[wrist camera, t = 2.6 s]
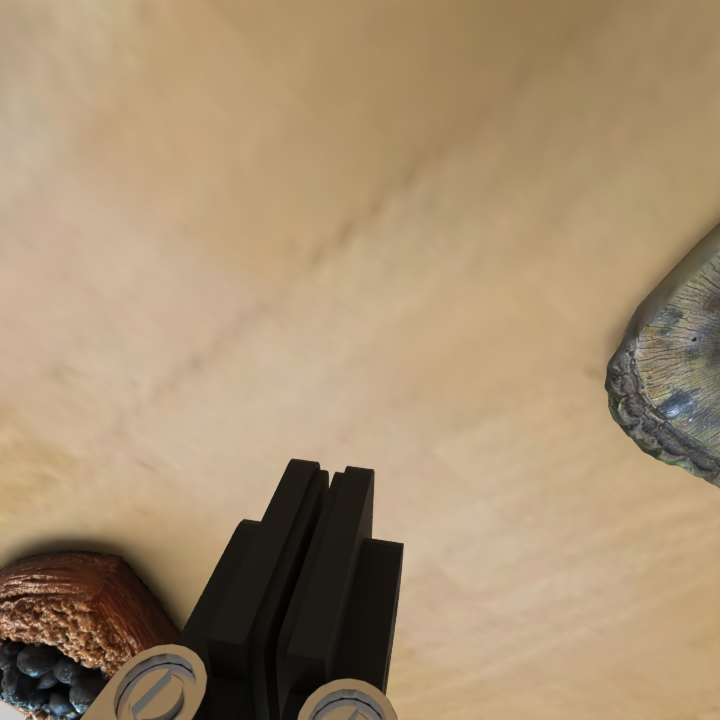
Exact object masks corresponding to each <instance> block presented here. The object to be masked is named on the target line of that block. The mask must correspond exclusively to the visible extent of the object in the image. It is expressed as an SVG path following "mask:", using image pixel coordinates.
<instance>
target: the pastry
mask: <svg viewBox="0 0 720 720" xmlns="http://www.w3.org/2000/svg"><path fill="white" fill-rule="evenodd" d="M162 605H163V603H162V602H161V601H160V599H158V598H156V597H155V596H153V595H152V594H151V592H150V591H149V589H148V587H147V586H146V585H145V584H144V583H143V581H142V580H141V579H140V578H139V577H138V576H137V575H136V574H135V572H134V570H133V569H132V568H131V567H130V566H129V565H128V564H127V563H126V562H125V561H123V559H122V557H121V556H116V555H111V554H110V555H106V554H101V553H95V552H83V551H81V552H72V551H61V552H53V553H46V554H40V555H36V556H33V557H28V558H26V559H24V560H21V561H19V562H16V563H14V564H12V565H10V566H7V567H5V568H3V569H1V570H0V700H3V701H5V702H6V703H10V704H12V705H13V706H18V708H19V710H21V711H23V712H25V715H24V716H25V718H26V720H71V719H73V718H75V717H77V716H78V715H80V714H82V713H84V712H86V711H87V710H88V708H89V707H90V706H91V705H92V703H93V702H94V701H95V699H96V698H97V697H98V695H99V694H100V693H101V691H102V690H103V689H104V688H105V686H106V685H107V684H108V682H109V681H110V680H111V678H112V677H113V676H114V674H115V673H116V672H117V671H118V670H119V669H120V668H121V667H122V666H123V665H124V664H125V663H126V662H127V661H128V660H130V659H131V658H133V657H134V656H136V655H137V654H139V653H140V652H142V651H145V650H147V649H150V648H153V647H155V646H160V645H169V644H173V645H175V644H176V643H177V641H178V639H179V637H180V635H181V634H180V633H179V631H178V629H177V628H176V627H175V625H174V624H173V623H172V621H171V620H170V619H169V617H168V616H167V614H166V613H165V611H164V608H163V606H162Z"/></svg>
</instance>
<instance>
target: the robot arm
mask: <svg viewBox="0 0 720 720" xmlns="http://www.w3.org/2000/svg"><path fill="white" fill-rule="evenodd" d="M373 497H374V469H366V468H359V467H351V466H347V467H346V469H345V472H344V473H341V472H335V474H334V476H333V479H332V482H331V485H330V488H329V473H328V471H326V470H320V464H319V462H314V461H306V460H299V459H291V460H290V462H289V463H288V466H287V468H286V470H285V472H284V474H283V476H282V478H281V480H280V482H279V485H278V487H277V489H276V491H275V493H274V495H273V497H272V499H271V501H270V504H269V506H268V508H267V510H266V512H265V514H264V516H263V518H262V520H261V522H260V521H253V520H247V519H243V520H242V521H241V522H240V523H239V525H238V526H237V528H236V530H235V532H234V533H233V535H232V537H231V539H230V541H229V543H228V545H227V547H226V549H225V551H224V553H223V554H222V556H221V558H220V560H219V562H218V564H217V566H216V568H215V570H214V572H213V574H212V576H211V577H210V579H209V581H208V583H207V585H206V587H205V589H204V591H203V593H202V595H201V597H200V599H199V600H198V602H197V604H196V606H195V608H194V610H193V612H192V614H191V616H190V618H189V620H188V622H187V623H186V625H185V627H184V629H183V631H182V633H181V635H180V637H179V639H178V641H177V643H176V644H175V645H173V644H169V645H160V646H155V647H153V648H150V649H147V650H145V651H142V652H140V653H139V654H137V655H136V656H134V657H133V658H131V659H130V660H128V661H127V662H126V663H125V664H124V665H123V666H122V667H121V668H120V669H119V670H118V671H117V672H116V673H115V674H114V676H113V677H112V678H111V680H110V681H109V682H108V684H107V685H106V686H105V688H104V689H103V690H102V691H101V693H100V694H99V695H98V697H97V698H96V699H95V701H94V702H93V703H92V705H91V706H90V707H89V708H88V710H87V711H86V712H84V713H82V714H80V715H78V716H77V717H75V718H73V719H71V720H398V718H397V714H396V713H395V711H394V709H393V707H392V705H391V703H390V701H389V700H388V699H387V697H386V689H387V682H388V675H389V667H390V660H391V653H392V645H393V638H394V631H395V623H396V616H397V608H398V600H399V591H400V582H401V572H402V560H403V548H404V543H397V542H391V541H384V540H378V539H372V519H373Z"/></svg>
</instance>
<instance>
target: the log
mask: <svg viewBox="0 0 720 720" xmlns="http://www.w3.org/2000/svg"><path fill="white" fill-rule="evenodd" d="M605 389H606V391H607V392H608V403H609V404H608V407H609V410H610V412H611V415H612V417H613V419H614V421H615V422H616V423H618V424H619V425H620V427H621V428H622V429H623V431H624V432H625V433H626V434H627V435H628V436H629V437H631V438H632V439H633V441H634V442H635V443H636V444H637V445H638V446H639V447H640V449H641V450H642V451H643V452H645V453H647V454H649V455H651V456H652V457H654V458H655V459H657V460H660V461H662V462H664V463H665V464H668V465H676V466H680V467H682V468H684V469H685V470H687V471H688V472H689V473H690V474H692V475H694V476H696V477H702V478H703V479H705V480H706V481H707V482H709V483H711V484H713V485H715V486H717V487H719V488H720V223H719V224H718V225H717V226H716V227H715V228H714V229H713V230H712V231H711V232H709V233H708V234H707V235H706V236H705V237H704V238H703V239H702V240H701V241H700V242H699V243H698V244H697V245H696V246H695V247H694V248H693V249H692V250H691V251H690V252H689V253H688V254H687V255H686V256H685V257H684V258H683V259H682V261H681V262H680V263H679V264H678V265H677V266H676V267H675V268H674V269H673V270H672V271H671V272H670V273H669V274H668V275H667V276H666V277H665V278H664V279H663V280H662V281H661V283H660V284H659V285H658V286H657V287H656V288H655V289H654V290H653V291H652V292H651V293H650V294H649V295H648V296H647V297H646V298H645V299H644V300H643V301H642V303H641V304H640V305H639V306H638V307H637V309H636V311H635V313H634V315H633V316H632V318H631V320H630V322H629V324H628V326H627V328H626V329H625V331H624V333H623V335H622V337H621V339H620V341H619V342H618V346H617V351H616V352H615V354H614V355H613V357H612V358H611V359H610V361H609V363H608V366H607V376H606V381H605Z"/></svg>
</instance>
